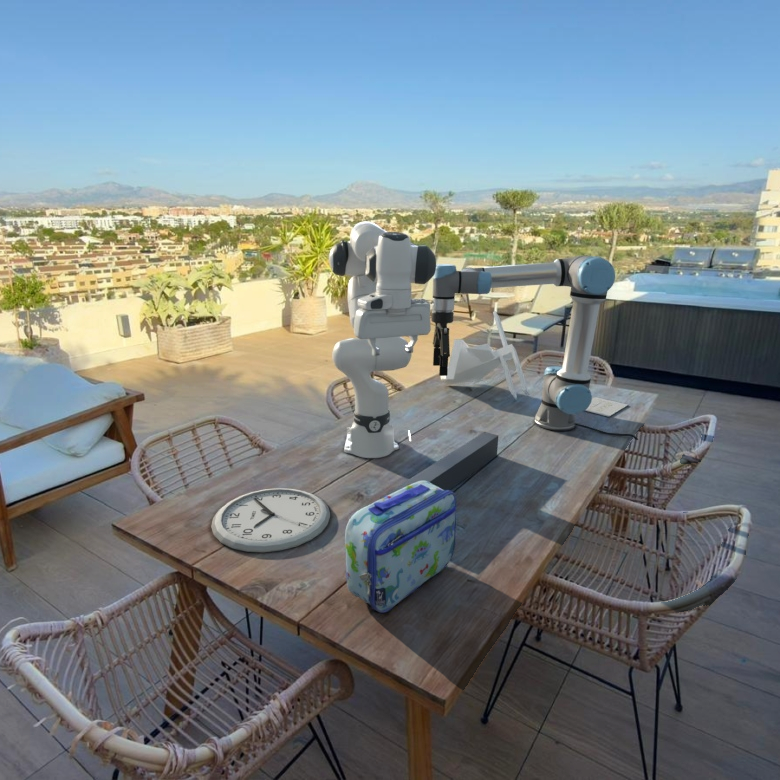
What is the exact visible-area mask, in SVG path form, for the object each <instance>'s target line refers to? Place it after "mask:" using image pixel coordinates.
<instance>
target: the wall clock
mask: <svg viewBox="0 0 780 780" xmlns="http://www.w3.org/2000/svg"><path fill="white" fill-rule="evenodd" d="M330 518H331V512H330V507H329V506H328V505H327V503H326V502H325V501H324V500H323V499H322V498H321V497H318V496H317V495H315V494H313V493H310V492H308V491H305V490H300V489H295V488H286V487H285V488H284V487H283V488H281V487H275V488H267V489H266V488H264V489H261V490H260V489H259V490H255V491H251V492H248V493H245V494H243V495H242V494H241V495H239V496H237V497H235V498H234V499H232V500H230V501H228V502H227V503H226V504H224V505H223V506H222V507H220V508H219V509H218V510H217V511H216V513H215V515H214V516H213V517H212V521H211V526H210V528H211V531H212V534H213V536H214V538H216V540H217V541H219V542H220V544H223V545H224V546H227V547H229V548H230V549H232V550H233V549H234V550H237V551H242V552H245V553H246V552H247V553H270V552H280V551H285V550H288V549H292V548H295V547H298V546H301V545H304V544H305V543H308V542H309V541H312V540H313V539H314V538H316V537H318V536H319V535H320V534H322V533H323V531H325V529H326V528H327V526H328V525H329V522H330Z"/></svg>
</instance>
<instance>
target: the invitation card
mask: <svg viewBox="0 0 780 780" xmlns="http://www.w3.org/2000/svg"><path fill="white" fill-rule="evenodd" d="M628 406H629V404H627V403H623V402H618V401H614V400H609V399H605V398H601V397H596V396H593V397H592V401H591V404H590V406H589V407H588V408H587V409H586V410H584V411H583V412H587V413H593V414H596V415H600V416H604V417H608V418H609V417H611V416H613V415H614V414H616V413H617V412H619V411H621V410H623V409H624V408H626V407H628Z"/></svg>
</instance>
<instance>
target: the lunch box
mask: <svg viewBox="0 0 780 780" xmlns="http://www.w3.org/2000/svg"><path fill="white" fill-rule="evenodd" d="M456 531H457V499H456V495H455V493H454V492H453V490H443V489H441V488H439V487H437V486H435V485H433V484H432V483H430V482H428V481H418V482H416V483H413V484H411V485H409V486H406V487H404V488H402V489H400V490H398V491H396V492H394V493H392V494H390V495H388V496H386V497H384V498H382V499H380V498H379V499H378V500H376V501H374V502H372V503H370V504H368V505H366V506H364V507H361V508H360V509H358V510H357V511H356V512H355V511H354V513H352V515H351V517H350V518H349V520H348V521H347V524H346V526H345V531H344V552H345V577H346V578H345V580H346V586H347V589H348V592H349V593H350V594H352V595H354V596H356V597H357V598H359V599H361V600H363V602H365V603H367V604H368V605H370V607H371V608H372V609H373V610H375V611H376V612H378V613H380V614H382V613H383V614H385V613H387V612H389V611H391V609H393V608H394V607H395V606H396V605H397V604H400V602H401V601H402V600H404V599H406V597H409V596H410V595H411V594H412V593H414V592H415V591H416V590H417V589H418V588H420V587H421V586H422V585H423V584H424V583H425V582H427V581H428V580H430V579H432V578H433V577H434V576H436V575H437V574H439V573H441V572H442V571H443V570H445V568H446V567H447V566H448V564H449V563H450V561H451V560H452V557H453V554H454V551H455V548H456V547H455V546H456Z"/></svg>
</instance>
